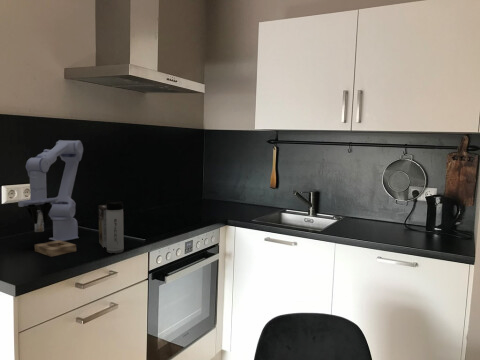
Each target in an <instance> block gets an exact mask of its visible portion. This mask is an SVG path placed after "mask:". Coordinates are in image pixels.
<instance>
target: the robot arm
mask: <svg viewBox="0 0 480 360" xmlns="http://www.w3.org/2000/svg"><path fill="white" fill-rule="evenodd" d="M83 153H84V146H83V143H82V141H81V140H78V139H77V140H62V139H59V140H58V141H56V142H55V145H54V147H53V148H51V149H49V148H48V149H47V148H46V149H43V152H40V153H39V154H37V155H36V156H35V157H30V158H29V159H28V160H27V161H26V164H25V169H26V171H27V176H28V178H29V197H30V199H27V200H25V199H24V200H18V202H17V203H18V204H17V205H18V207H20V208H21V207H22V208H23V207H24V208H25V209H26V211H27V212H28V214H29V217H30V219H31V224H33V225H35V224H37V210H38V209H39V207H37V205H39V206H40V210H43V213H44V224H46V223H47V221H48V217H49V218H50V220H52V235H53V237H49V238H48V240H51V241H57V240H61V241H65V242H67V241H70V240H75V239H79V238H80V237H79V236H78V235H79V229H78V225H79V224H78V220H77V219H76V218H75V215H76V206H77V205H76V204H77V203H76V202H75V200H74V199H72V193H73V189H74V185H75V181H76V175H77V171H78V166H79V162H81V160H82V158H83ZM57 157H59V158H60V159H61V161H63V162H65V166H64V168H63V174H62V177H61V182H60V186H59V190H58V195H57V196H56V197H48V198H47V196H48V193H47V190H48V189H47V173H48V171H49V169H50V167H51V165H53V164H54V163H55V162H56V161H57V159H58V158H57Z"/></svg>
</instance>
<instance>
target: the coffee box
mask: <svg viewBox="0 0 480 360" xmlns="http://www.w3.org/2000/svg"><path fill="white" fill-rule="evenodd" d="M106 208H107V207H106V204H100V205H98V238H99V239H98V241H99V242H98V243H99V244H100V245H101V247H102V248H104V247H105V248H107V228H106Z"/></svg>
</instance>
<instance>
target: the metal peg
mask: <svg viewBox="0 0 480 360" xmlns="http://www.w3.org/2000/svg"><path fill="white" fill-rule="evenodd" d="M44 231H45V223H44V213H43V210H41V209H39V210H38V209H37V224H34V233H43V232H44Z"/></svg>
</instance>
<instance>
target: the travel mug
mask: <svg viewBox="0 0 480 360" xmlns="http://www.w3.org/2000/svg"><path fill="white" fill-rule="evenodd" d="M105 205H106V207H107V208H106V228H107V247H106V252H107V253H108V254H112V253H115V254H121V253H123V252H124V249H125V247H124V245H125V244H124V234H125V233H124V203H123V202H122V201H121V200H111V199H107V200H105Z"/></svg>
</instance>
